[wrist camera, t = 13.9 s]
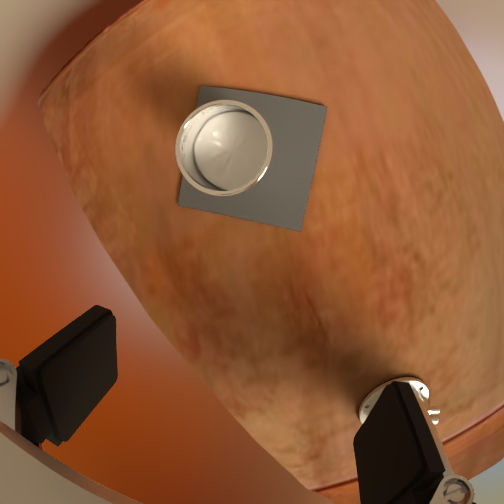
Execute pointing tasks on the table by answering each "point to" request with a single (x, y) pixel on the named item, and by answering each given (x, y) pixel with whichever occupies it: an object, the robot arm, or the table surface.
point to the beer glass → (226, 148)
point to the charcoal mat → (287, 166)
